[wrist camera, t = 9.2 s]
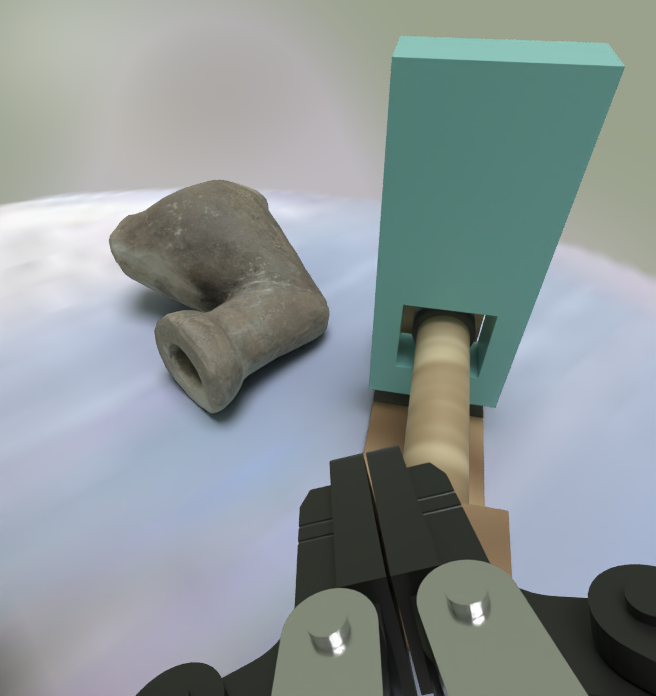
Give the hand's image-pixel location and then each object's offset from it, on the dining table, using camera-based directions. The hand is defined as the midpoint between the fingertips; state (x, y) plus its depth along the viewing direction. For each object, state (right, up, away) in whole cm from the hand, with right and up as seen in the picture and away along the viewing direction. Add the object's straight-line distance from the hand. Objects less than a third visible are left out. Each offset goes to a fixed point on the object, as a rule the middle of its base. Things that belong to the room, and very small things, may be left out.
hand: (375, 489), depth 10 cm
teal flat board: (+5, +1, +16) cm, 16 cm away
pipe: (-8, +5, +24) cm, 26 cm away
